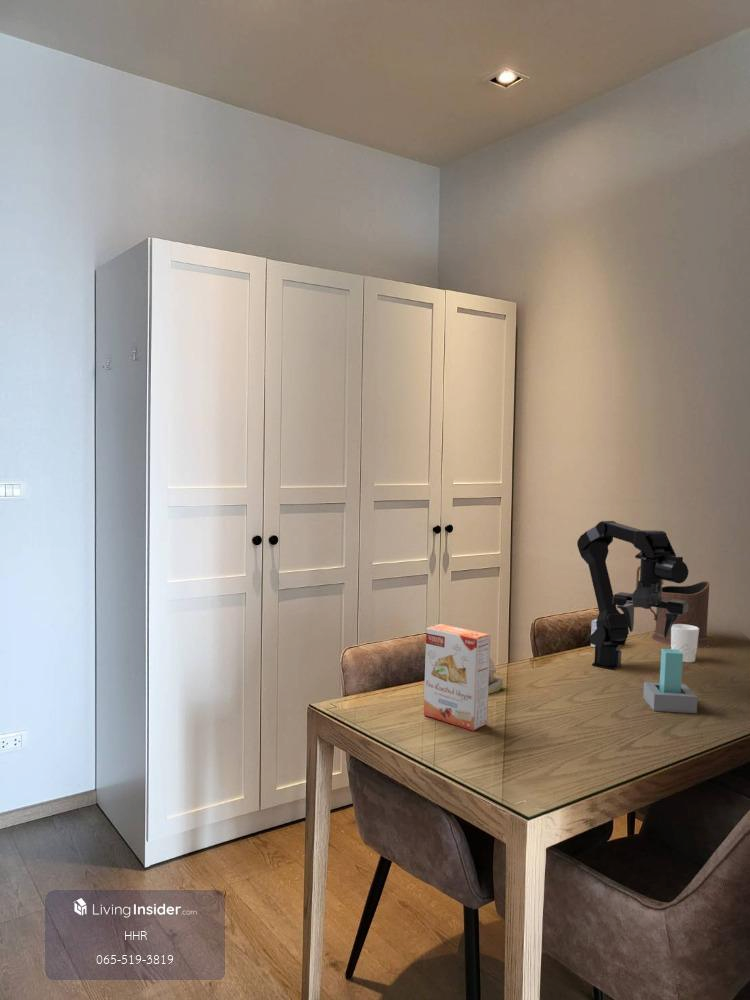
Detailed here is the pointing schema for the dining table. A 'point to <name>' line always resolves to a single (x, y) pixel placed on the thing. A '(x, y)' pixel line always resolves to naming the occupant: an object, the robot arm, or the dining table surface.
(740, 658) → the dining table surface
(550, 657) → the dining table surface
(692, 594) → the rusty brown pitcher
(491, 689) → the ceramic model
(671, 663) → the plug
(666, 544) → the robot arm
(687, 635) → the white cup
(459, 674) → the cracker box
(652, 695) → the socket
